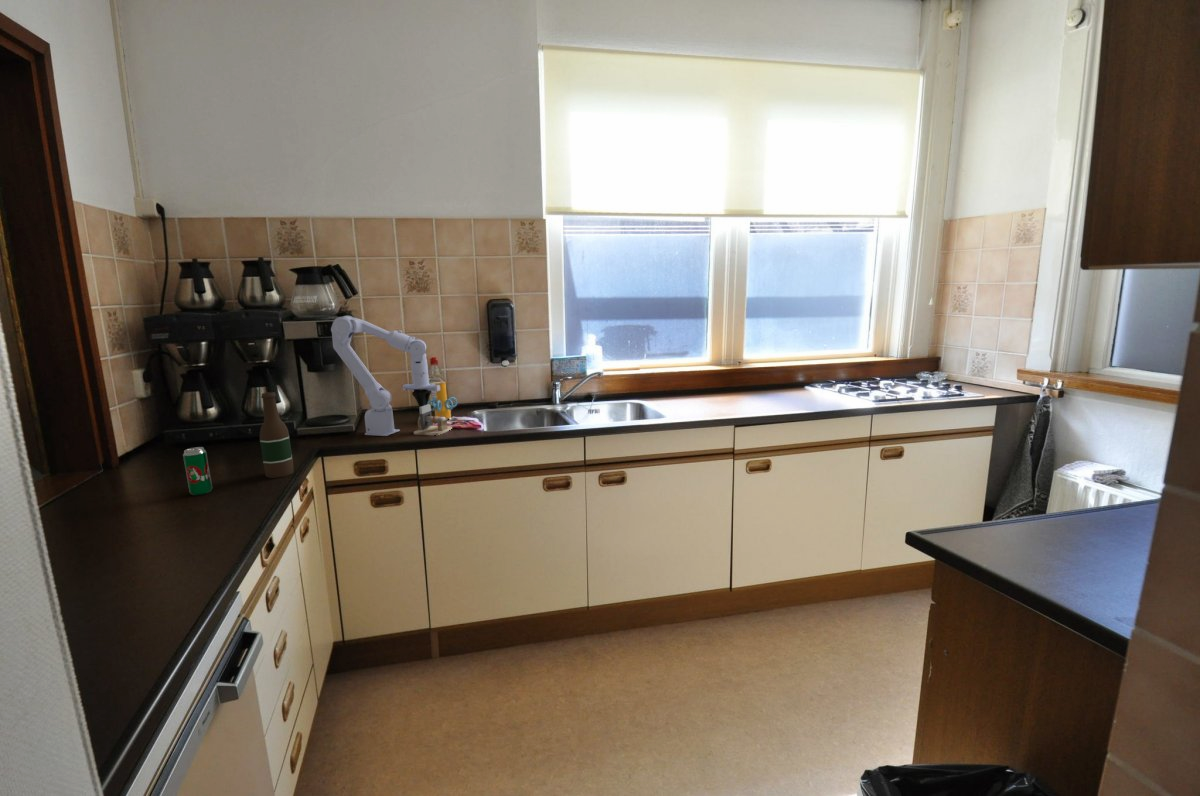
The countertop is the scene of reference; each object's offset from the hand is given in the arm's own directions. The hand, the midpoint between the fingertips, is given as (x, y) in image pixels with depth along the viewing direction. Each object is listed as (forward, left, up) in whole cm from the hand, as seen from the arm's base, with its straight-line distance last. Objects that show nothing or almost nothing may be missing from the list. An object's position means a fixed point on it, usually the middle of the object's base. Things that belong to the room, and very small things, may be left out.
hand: (423, 409), depth 214 cm
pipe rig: (+4, -2, -8) cm, 9 cm away
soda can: (-21, -71, -8) cm, 75 cm away
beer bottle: (-12, -54, -8) cm, 56 cm away
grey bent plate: (+2, -2, -6) cm, 6 cm away
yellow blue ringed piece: (-3, +16, -8) cm, 18 cm away
